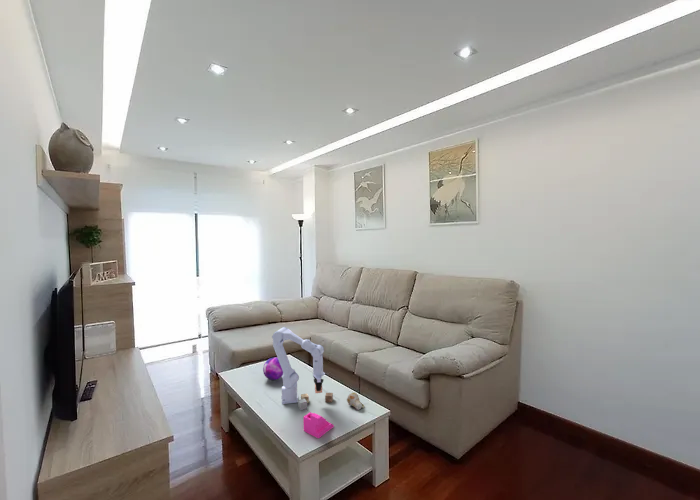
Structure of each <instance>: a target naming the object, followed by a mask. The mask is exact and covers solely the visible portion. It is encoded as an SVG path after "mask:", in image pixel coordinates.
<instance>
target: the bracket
mask: <svg viewBox="0 0 700 500" xmlns="http://www.w3.org/2000/svg"><path fill="white" fill-rule="evenodd" d="M302 419H303V421H302V422H303V432H305V433H307V434H308V435H311V436H312V437H315V438H317V439H320V438H321V437H322V436H324V435H325V434H327V432H329V431H330V430H331V429H333V428H334V427H335V425H334V424H333V423H331V422H329V421H328V420H326V418H325V417H323V416H321V415H320V414H318V413H315V412H312V411H310V412H308V413H307V414H305V415H304V416H303V418H302Z"/></svg>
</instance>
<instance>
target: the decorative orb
mask: <svg viewBox="0 0 700 500" xmlns="http://www.w3.org/2000/svg"><path fill="white" fill-rule="evenodd" d="M262 371H263V375H264V376H265V378H266V379H267V380H270V381H276V380H279V379H281V378H282V376H283V370H282V368H281V365H280V363H279V360H278V358H277V356H276V357H275V356H273V357H270V358H268V359H267V360H266V361H265V362H264V365H263V368H262Z"/></svg>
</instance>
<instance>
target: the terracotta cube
mask: <svg viewBox="0 0 700 500" xmlns="http://www.w3.org/2000/svg"><path fill="white" fill-rule="evenodd" d="M314 392H315V393H314V394H321V393H323V385H322V386H321V391H317V389H316V385H315V384H314Z"/></svg>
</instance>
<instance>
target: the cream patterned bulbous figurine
mask: <svg viewBox="0 0 700 500" xmlns="http://www.w3.org/2000/svg"><path fill="white" fill-rule="evenodd" d="M346 402H347V403H348V405H350V406H352V407H354V408H355V409H356V410H357V411H359V410H361V409H362V408H363V409H364V408H365V404H363V402H361V400H360V397H359V395H358V394H357V393H356V392H351V393H349V394H348V395H347V398H346Z"/></svg>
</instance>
